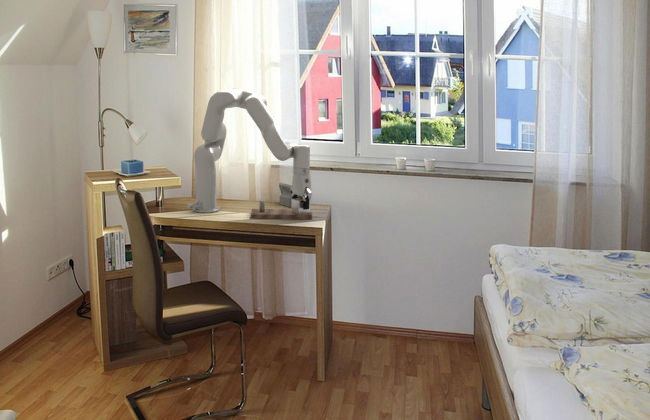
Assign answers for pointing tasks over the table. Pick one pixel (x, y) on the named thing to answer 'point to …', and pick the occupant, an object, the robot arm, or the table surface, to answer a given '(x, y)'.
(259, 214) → the board
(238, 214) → the table surface
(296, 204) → the white cube
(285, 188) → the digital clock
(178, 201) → the table surface
